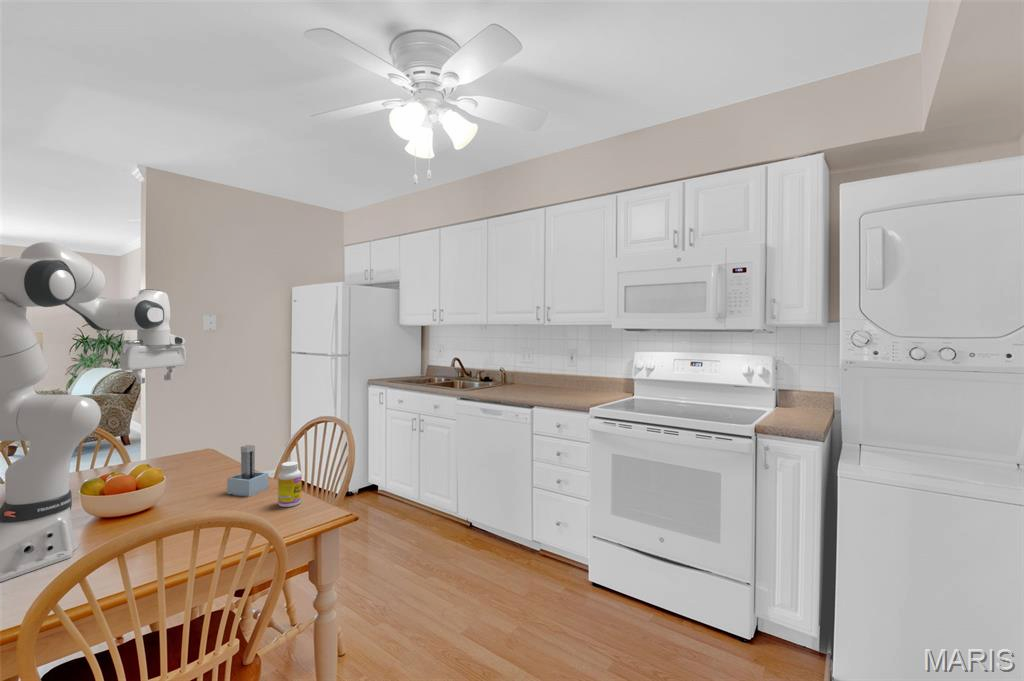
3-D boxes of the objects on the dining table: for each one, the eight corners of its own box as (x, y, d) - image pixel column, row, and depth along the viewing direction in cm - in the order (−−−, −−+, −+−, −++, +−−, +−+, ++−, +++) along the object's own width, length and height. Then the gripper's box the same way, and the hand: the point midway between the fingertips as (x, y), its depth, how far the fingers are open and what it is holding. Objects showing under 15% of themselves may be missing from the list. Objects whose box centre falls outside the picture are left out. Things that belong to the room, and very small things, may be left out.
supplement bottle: (295, 508, 149) (295, 466, 148) (274, 507, 149) (273, 466, 148) (305, 500, 155) (304, 460, 155) (284, 499, 155) (284, 460, 155)
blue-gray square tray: (249, 496, 158) (249, 480, 157) (227, 494, 160) (227, 478, 159) (268, 488, 166) (268, 472, 166) (247, 485, 168) (247, 470, 168)
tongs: (247, 490, 161) (247, 447, 160) (240, 489, 162) (240, 446, 161) (255, 488, 164) (254, 445, 163) (248, 486, 165) (248, 444, 164)
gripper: (129, 340, 147) (130, 386, 147) (189, 338, 167) (189, 378, 167) (113, 340, 148) (114, 385, 149) (174, 338, 168) (175, 378, 169)
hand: (154, 381), depth 158 cm, fingers open, 8 cm apart
